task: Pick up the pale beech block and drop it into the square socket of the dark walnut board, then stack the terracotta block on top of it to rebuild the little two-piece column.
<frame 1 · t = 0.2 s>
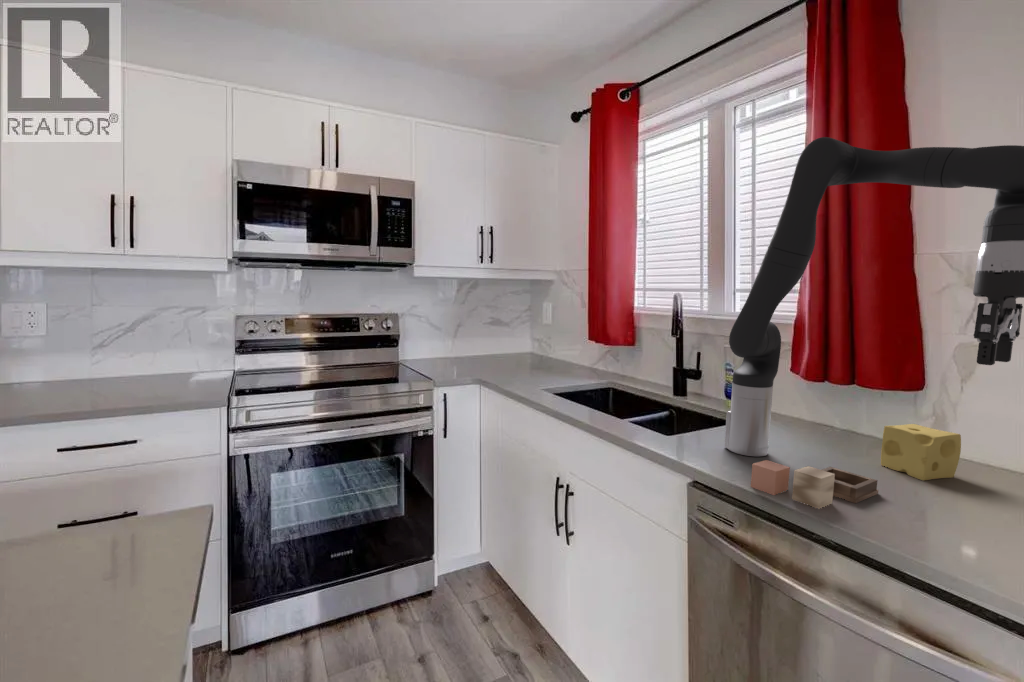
hand: (993, 363, 89), 29 cm above the worktop, tool pointing down, fingers open, 8 cm apart
socket board: (841, 490, 104), on the worktop
top block: (769, 489, 104), on the worktop
cheese: (916, 472, 117), on the worktop
base block: (811, 502, 98), on the worktop
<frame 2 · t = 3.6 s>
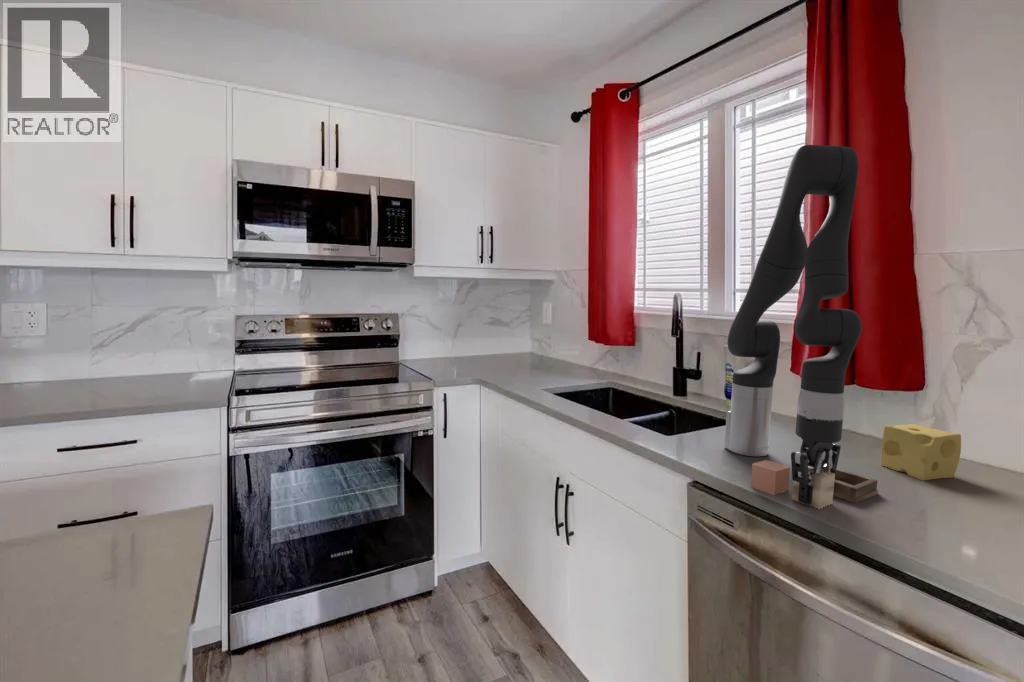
hand: (812, 499, 98), 0 cm above the worktop, tool pointing down, fingers closed on base block, 5 cm apart
base block: (812, 501, 98), on the worktop, touching gripper
everything else where it was.
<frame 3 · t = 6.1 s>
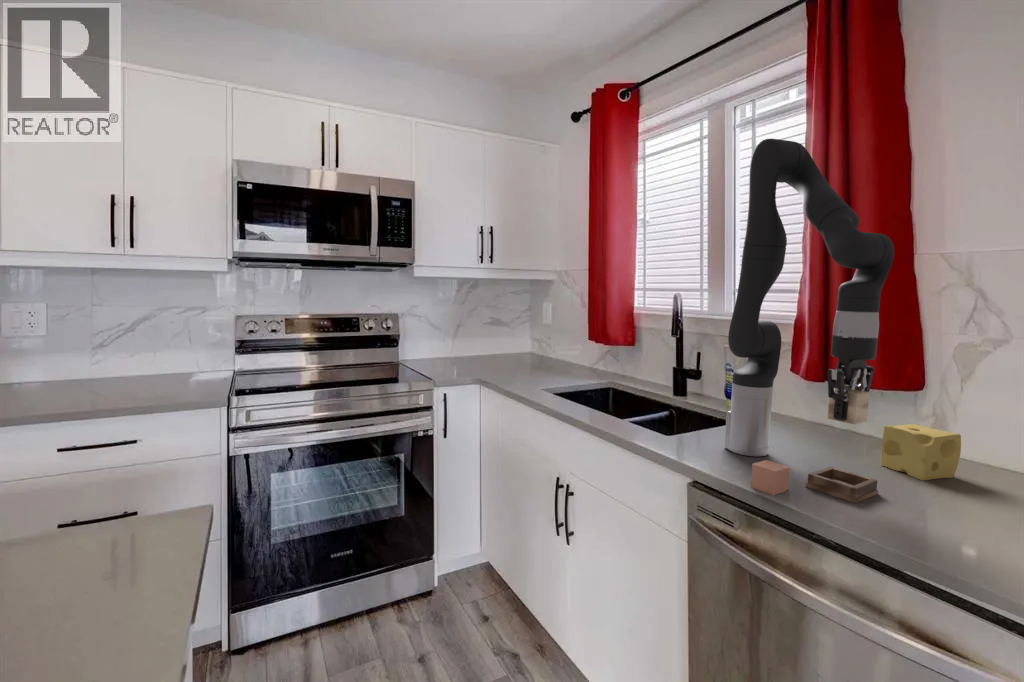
hand: (846, 417, 103), 15 cm above the worktop, tool pointing down, fingers closed on base block, 5 cm apart
base block: (846, 419, 103), point 15 cm above the worktop, touching gripper
everything else where it was.
when the fingers open (4 cm above the worktop, at t = 8.7 s): base block drops 2 cm, resting on socket board.
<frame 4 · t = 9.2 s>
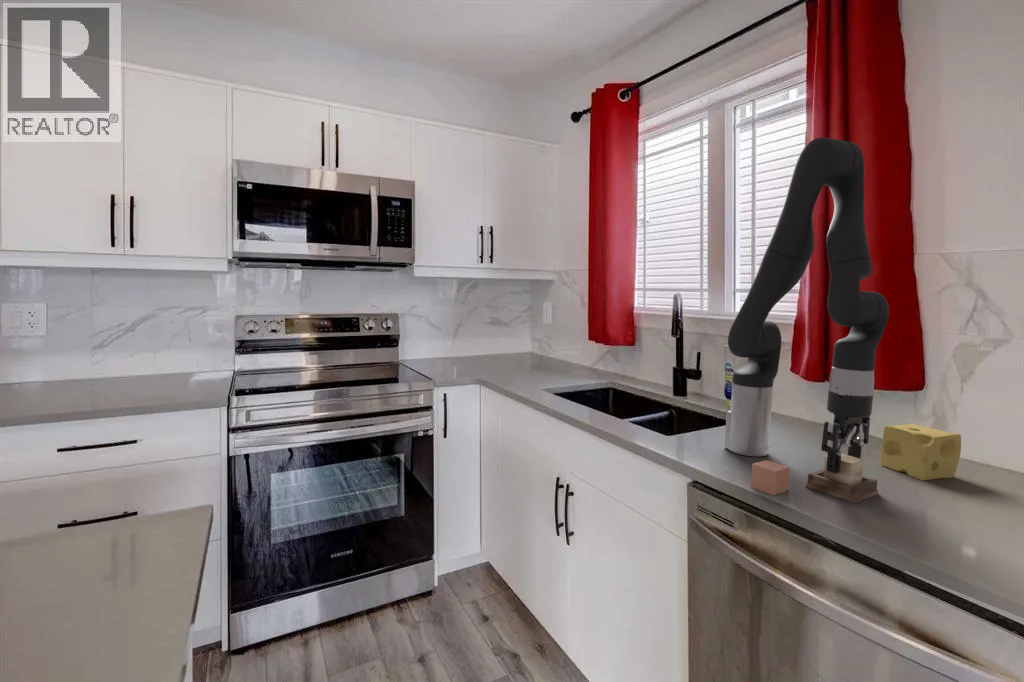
hand: (843, 468, 104), 5 cm above the worktop, tool pointing down, fingers open, 8 cm apart
base block: (841, 486, 104), point 1 cm above the worktop, touching socket board
everything else where it was.
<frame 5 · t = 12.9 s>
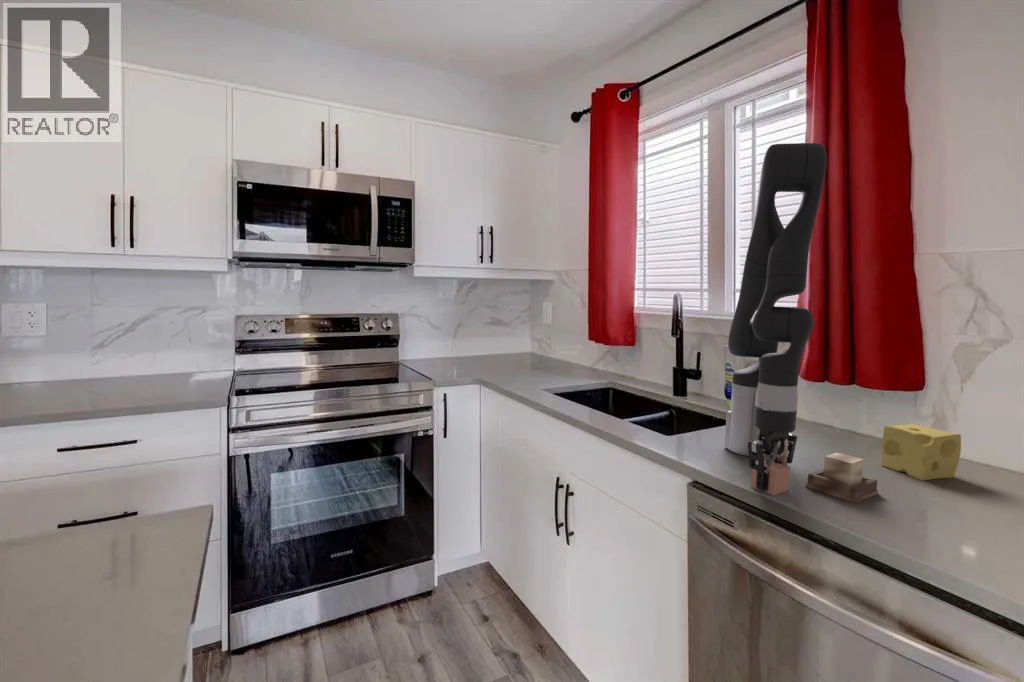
hand: (769, 486, 104), 0 cm above the worktop, tool pointing down, fingers closed on top block, 5 cm apart
top block: (769, 488, 104), on the worktop, touching gripper
everything else where it was.
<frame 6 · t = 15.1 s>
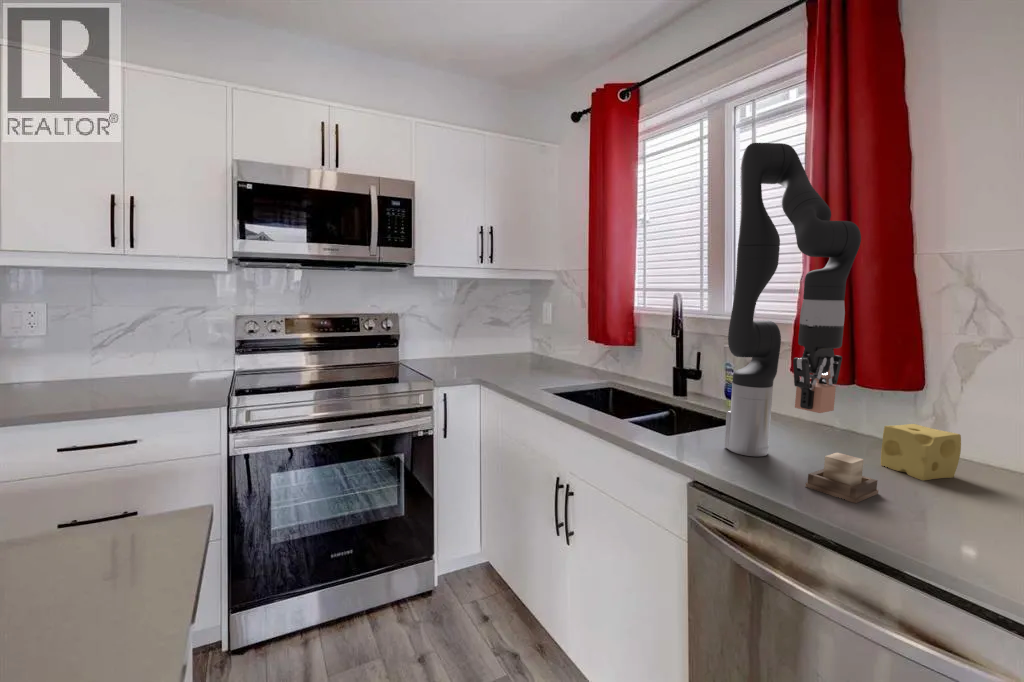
hand: (814, 406, 103), 17 cm above the worktop, tool pointing down, fingers closed on top block, 5 cm apart
top block: (814, 409, 103), point 17 cm above the worktop, touching gripper
everything else where it was.
when the fingers open (9 cm above the worktop, at t = 17.6 s): top block drops 1 cm, resting on base block.
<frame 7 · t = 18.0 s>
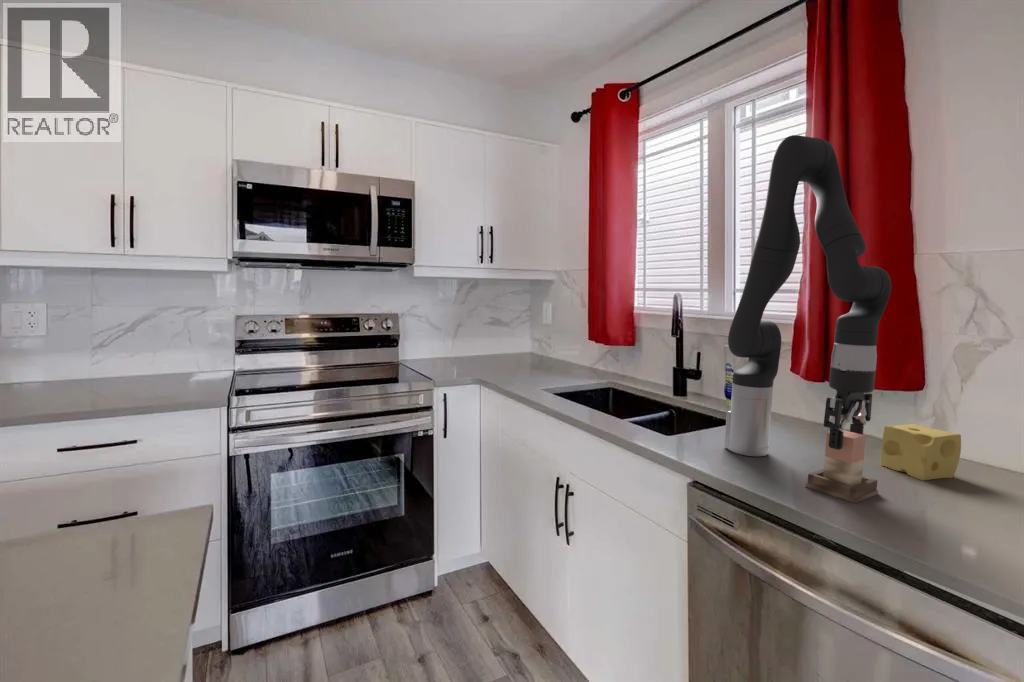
hand: (845, 445, 103), 9 cm above the worktop, tool pointing down, fingers open, 8 cm apart
top block: (844, 457, 104), point 7 cm above the worktop, touching base block
base block: (841, 486, 104), point 1 cm above the worktop, touching socket board, top block
everything else where it was.
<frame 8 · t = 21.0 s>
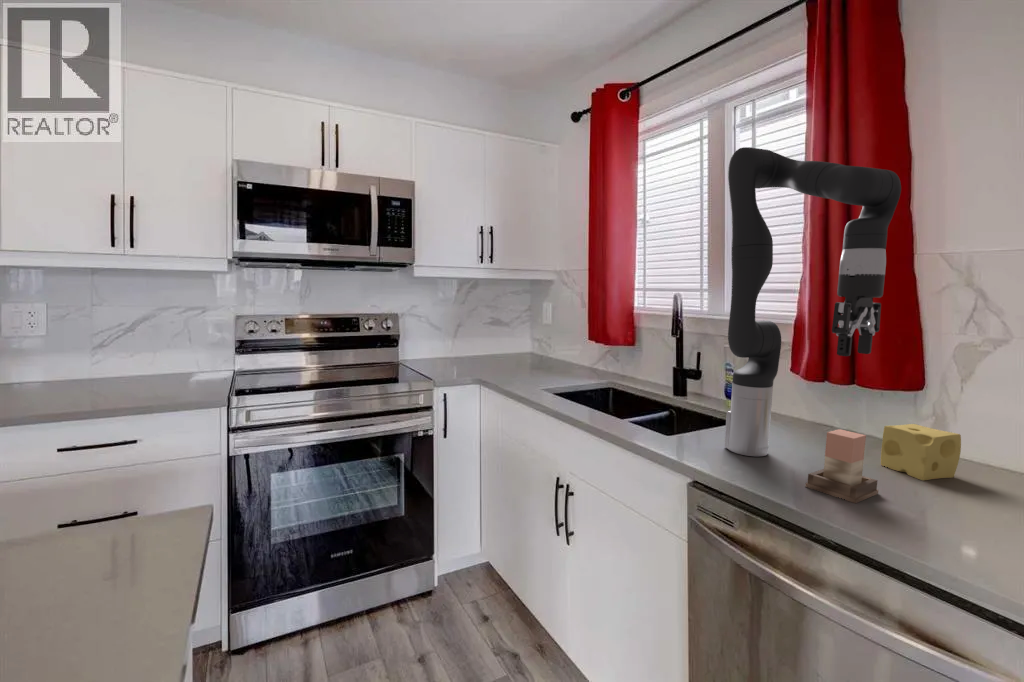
hand: (853, 354, 101), 28 cm above the worktop, tool pointing down, fingers open, 8 cm apart
nothing on the worktop moved.
at the end: base block 0.1 cm off-centre on the socket board, point 0.9 cm above the socket board's base; top block 0.0 cm off-centre on the base block, point 6.0 cm above the base block's base; top block tilted 0° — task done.
